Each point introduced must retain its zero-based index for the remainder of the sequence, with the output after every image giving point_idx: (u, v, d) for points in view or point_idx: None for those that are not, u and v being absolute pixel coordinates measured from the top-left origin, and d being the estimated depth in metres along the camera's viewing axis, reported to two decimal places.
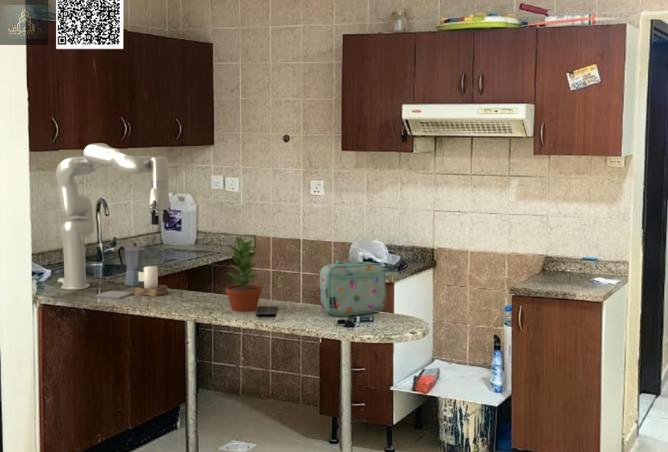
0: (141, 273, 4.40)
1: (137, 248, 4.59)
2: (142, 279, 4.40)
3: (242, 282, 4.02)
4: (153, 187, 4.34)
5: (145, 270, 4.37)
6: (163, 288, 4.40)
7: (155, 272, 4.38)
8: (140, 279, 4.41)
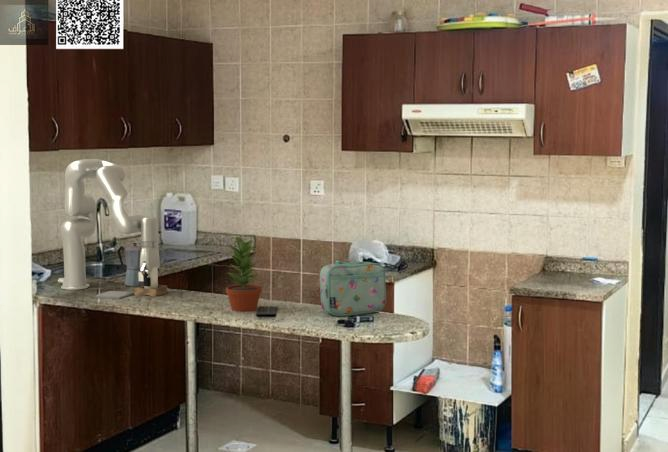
0: (141, 273, 4.40)
1: (137, 248, 4.59)
2: (142, 279, 4.40)
3: (242, 282, 4.02)
4: (143, 247, 4.35)
5: None
6: (163, 288, 4.40)
7: (155, 272, 4.38)
8: (140, 279, 4.41)
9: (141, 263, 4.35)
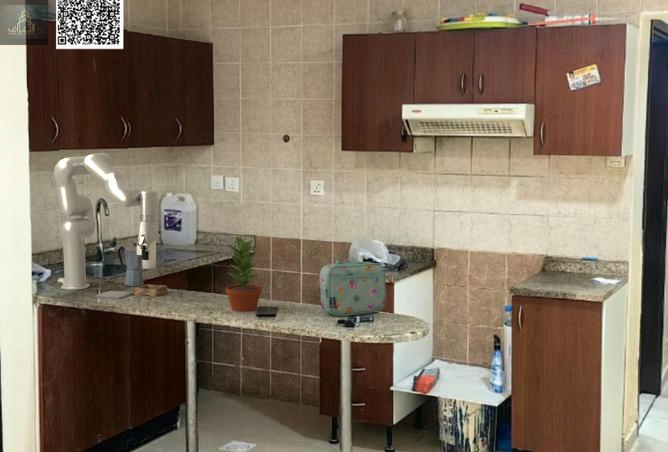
0: (139, 247, 4.39)
1: None
2: (140, 253, 4.39)
3: (242, 282, 4.02)
4: (142, 221, 4.34)
5: None
6: (163, 288, 4.40)
7: (153, 246, 4.37)
8: (138, 253, 4.40)
9: (140, 236, 4.33)
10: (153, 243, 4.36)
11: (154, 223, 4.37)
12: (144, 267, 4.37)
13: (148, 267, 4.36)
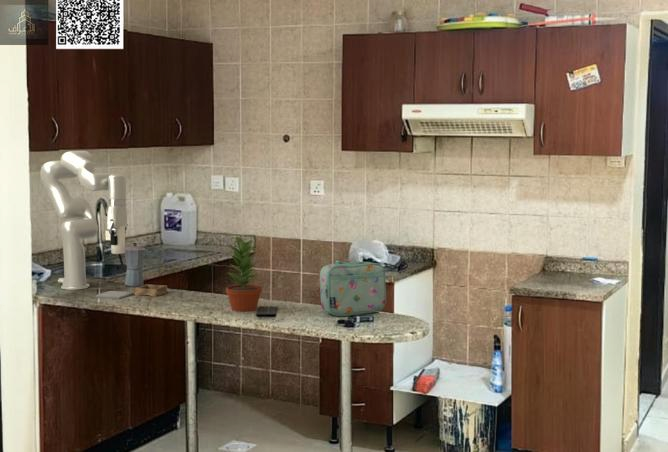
0: (108, 232, 4.35)
1: (137, 248, 4.59)
2: (109, 238, 4.35)
3: (242, 282, 4.02)
4: (111, 205, 4.29)
5: None
6: (163, 288, 4.40)
7: (122, 231, 4.32)
8: (107, 238, 4.35)
9: (108, 221, 4.29)
10: (122, 228, 4.32)
11: (123, 208, 4.32)
12: (113, 252, 4.32)
13: (117, 252, 4.32)
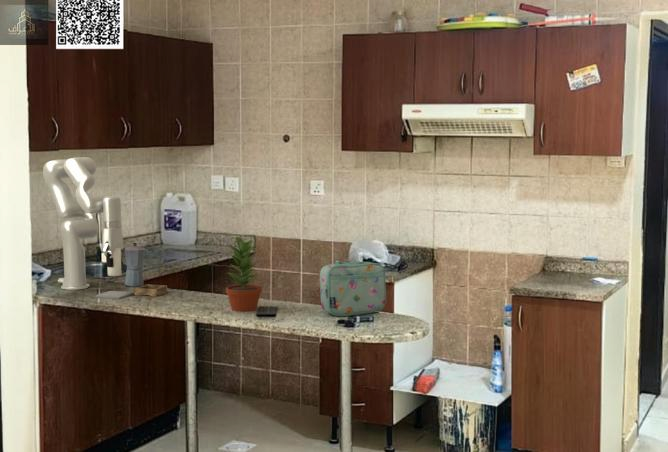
0: (104, 254, 4.35)
1: (137, 248, 4.59)
2: (105, 260, 4.35)
3: (242, 282, 4.02)
4: (106, 228, 4.30)
5: None
6: (163, 288, 4.40)
7: (118, 253, 4.32)
8: (103, 260, 4.35)
9: (103, 243, 4.29)
10: (118, 250, 4.32)
11: (118, 230, 4.33)
12: (109, 274, 4.32)
13: (113, 274, 4.32)
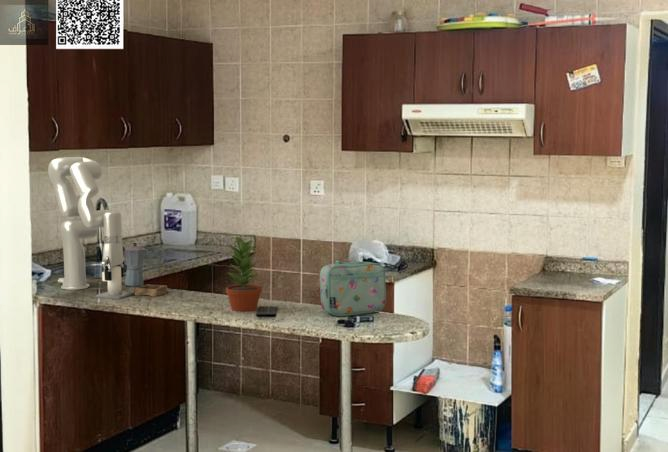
0: None
1: (137, 248, 4.59)
2: None
3: (242, 282, 4.02)
4: (106, 243, 4.31)
5: None
6: (163, 288, 4.40)
7: (118, 272, 4.34)
8: (104, 279, 4.37)
9: (104, 258, 4.30)
10: (118, 269, 4.33)
11: (118, 244, 4.33)
12: (109, 293, 4.34)
13: (113, 293, 4.33)
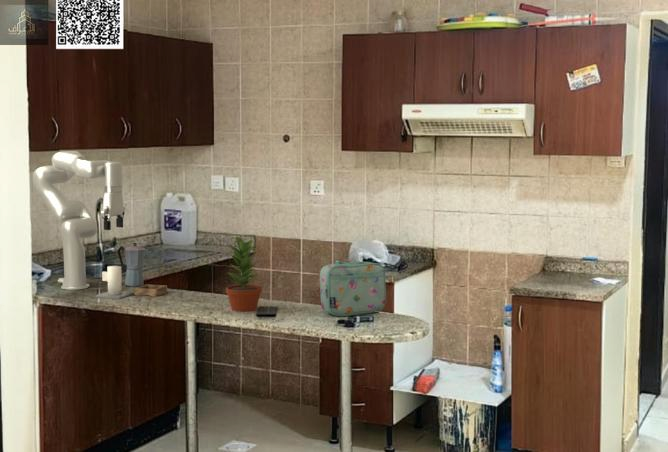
0: (105, 273, 4.36)
1: (137, 248, 4.59)
2: (106, 279, 4.36)
3: (242, 282, 4.02)
4: (106, 192, 4.34)
5: (108, 270, 4.33)
6: (163, 288, 4.40)
7: (119, 272, 4.34)
8: (104, 279, 4.37)
9: (104, 208, 4.33)
10: (118, 269, 4.33)
11: (118, 195, 4.36)
12: (109, 293, 4.34)
13: (113, 293, 4.33)
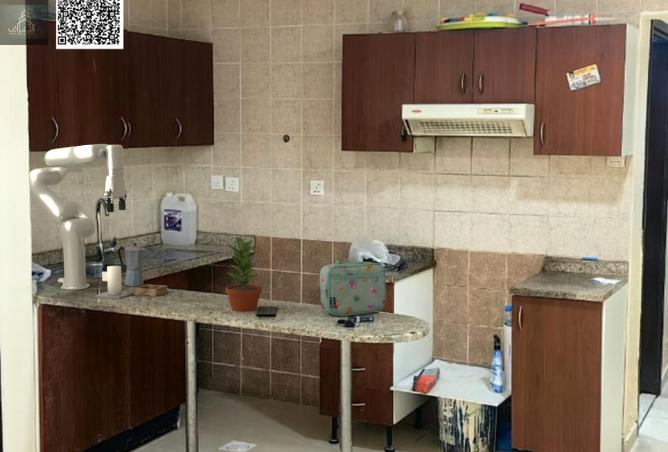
0: (105, 273, 4.36)
1: (137, 248, 4.59)
2: (106, 279, 4.37)
3: (242, 282, 4.02)
4: (108, 175, 4.38)
5: (108, 270, 4.33)
6: (163, 288, 4.40)
7: (118, 272, 4.34)
8: (104, 279, 4.37)
9: (106, 190, 4.38)
10: (118, 269, 4.33)
11: (120, 177, 4.41)
12: (109, 293, 4.34)
13: (113, 293, 4.33)
